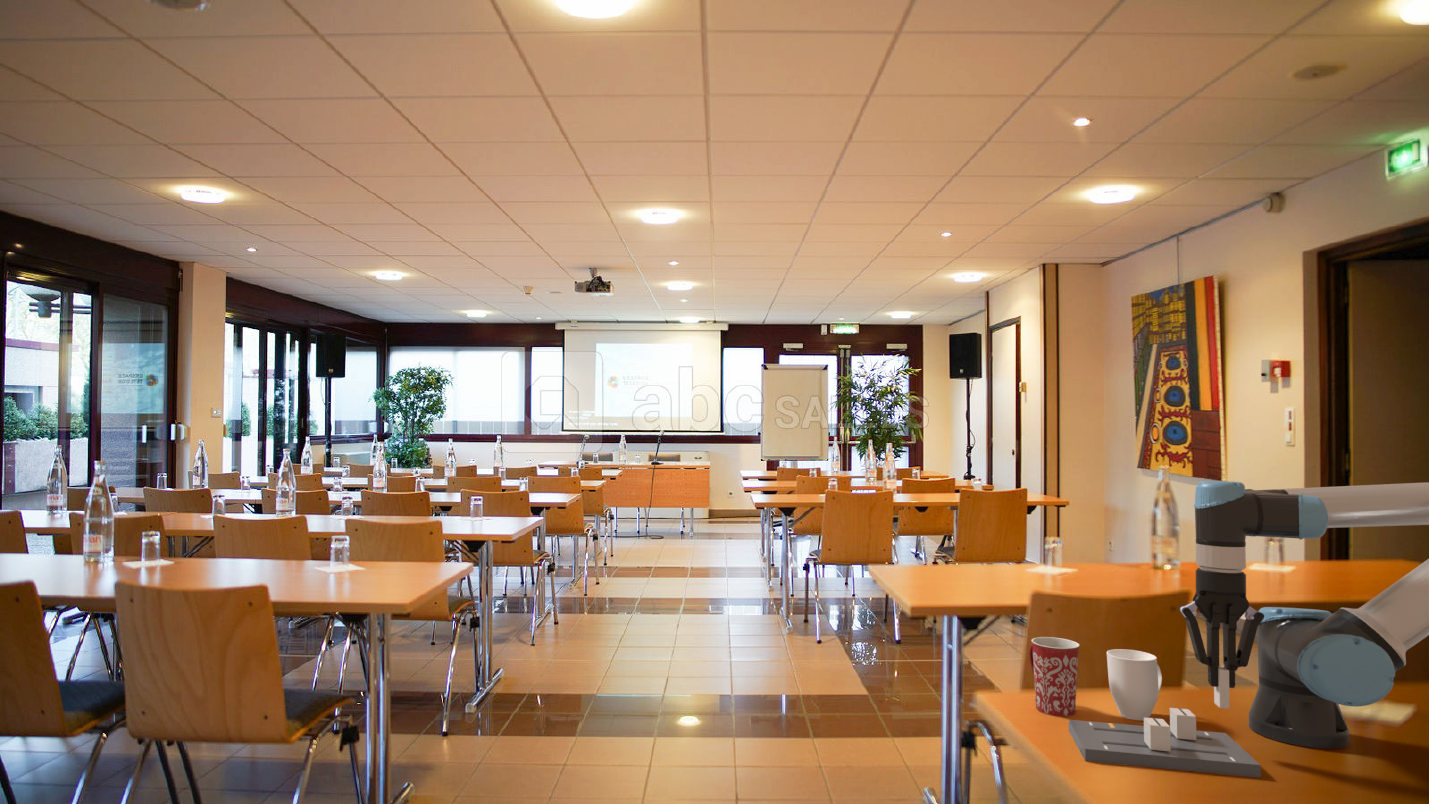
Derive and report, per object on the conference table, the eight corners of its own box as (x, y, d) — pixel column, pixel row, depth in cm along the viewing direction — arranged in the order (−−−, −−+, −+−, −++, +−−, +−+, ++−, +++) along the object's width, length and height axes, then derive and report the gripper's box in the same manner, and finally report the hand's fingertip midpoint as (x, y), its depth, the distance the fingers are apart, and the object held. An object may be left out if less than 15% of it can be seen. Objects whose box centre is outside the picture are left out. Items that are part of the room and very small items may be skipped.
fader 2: (1188, 732, 144) (1188, 708, 144) (1196, 740, 140) (1195, 716, 141) (1170, 730, 145) (1169, 707, 145) (1177, 738, 141) (1176, 714, 141)
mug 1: (1090, 717, 158) (1089, 647, 159) (1046, 718, 157) (1046, 648, 158) (1054, 697, 171) (1054, 632, 172) (1014, 698, 170) (1013, 633, 170)
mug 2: (1138, 726, 154) (1135, 661, 154) (1099, 713, 162) (1096, 651, 162) (1180, 717, 158) (1177, 655, 159) (1139, 705, 166) (1137, 646, 167)
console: (1225, 744, 144) (1225, 732, 145) (1260, 777, 130) (1260, 764, 130) (1068, 730, 151) (1068, 719, 151) (1085, 761, 136) (1085, 748, 136)
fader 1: (1163, 742, 139) (1162, 718, 139) (1170, 751, 135) (1170, 726, 135) (1144, 741, 140) (1143, 716, 140) (1150, 749, 136) (1150, 724, 136)
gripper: (1253, 568, 145) (1255, 702, 144) (1172, 564, 148) (1173, 695, 147) (1271, 574, 137) (1273, 716, 136) (1186, 570, 141) (1187, 708, 139)
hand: (1221, 705), depth 141 cm, fingers closed
